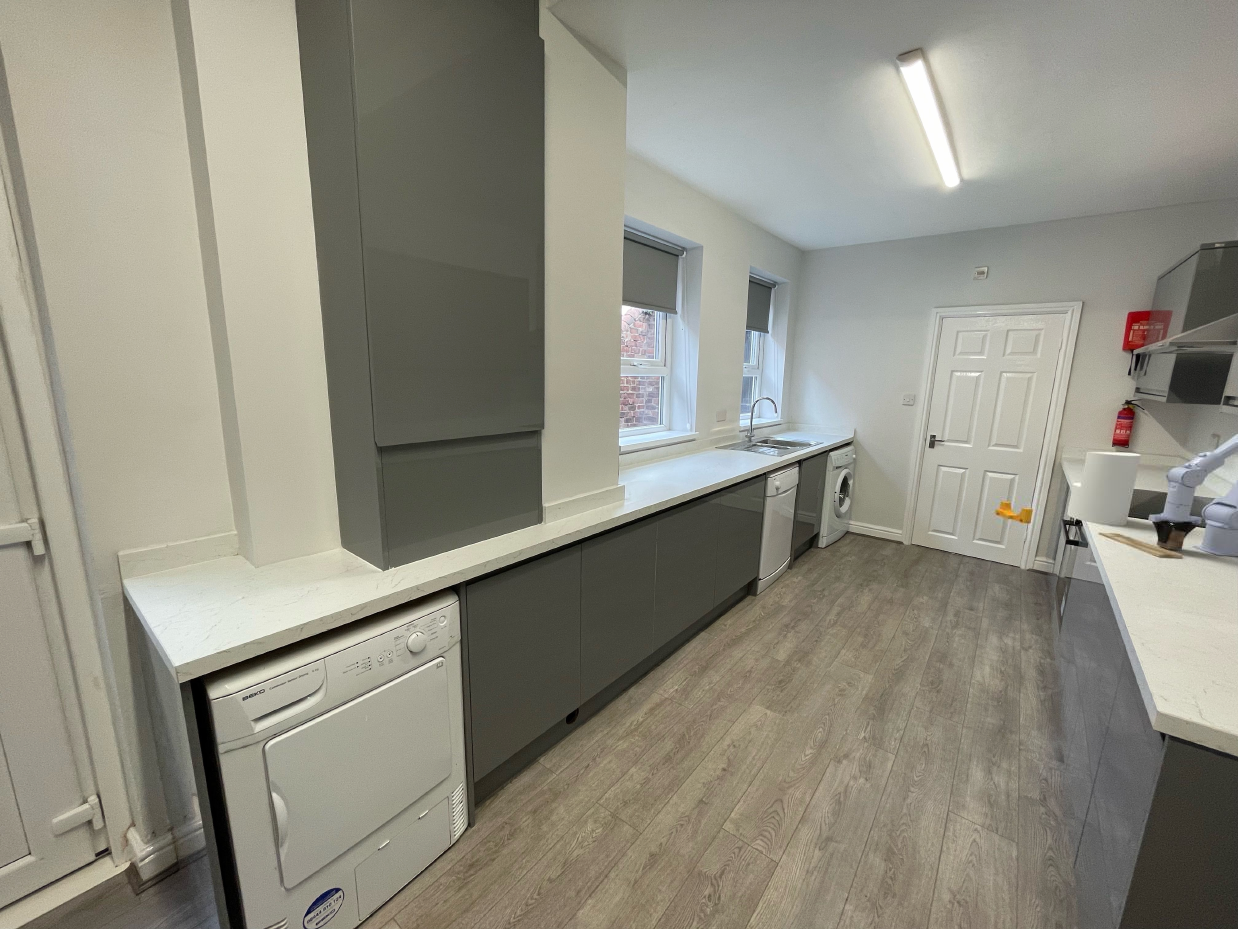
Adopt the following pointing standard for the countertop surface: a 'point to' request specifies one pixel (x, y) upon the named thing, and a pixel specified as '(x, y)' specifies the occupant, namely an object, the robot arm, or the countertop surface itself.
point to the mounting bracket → (1007, 513)
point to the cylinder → (1105, 488)
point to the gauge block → (1174, 540)
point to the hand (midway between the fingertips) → (1169, 542)
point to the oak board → (1142, 545)
